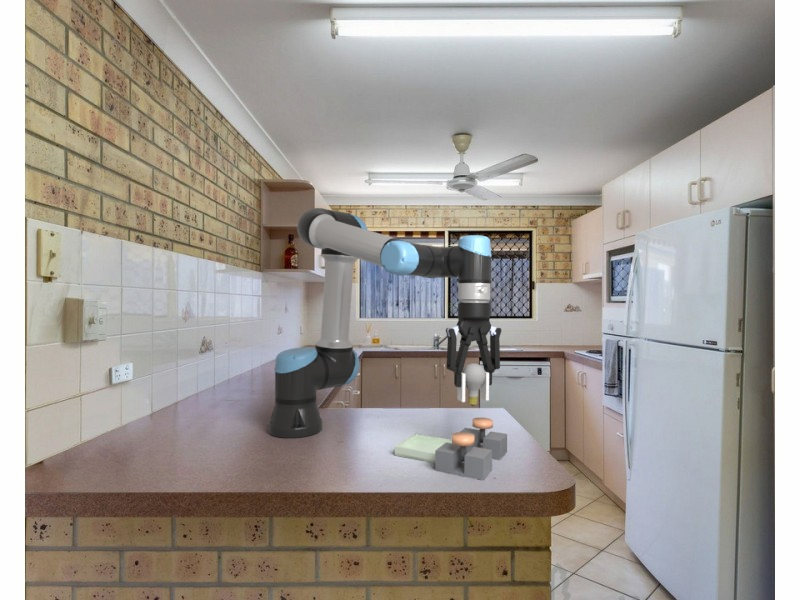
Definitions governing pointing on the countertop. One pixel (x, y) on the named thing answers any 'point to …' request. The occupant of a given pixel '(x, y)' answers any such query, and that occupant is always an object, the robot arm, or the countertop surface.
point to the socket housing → (472, 455)
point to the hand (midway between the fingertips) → (473, 399)
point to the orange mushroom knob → (482, 426)
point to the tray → (420, 447)
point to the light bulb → (473, 381)
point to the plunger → (463, 442)
